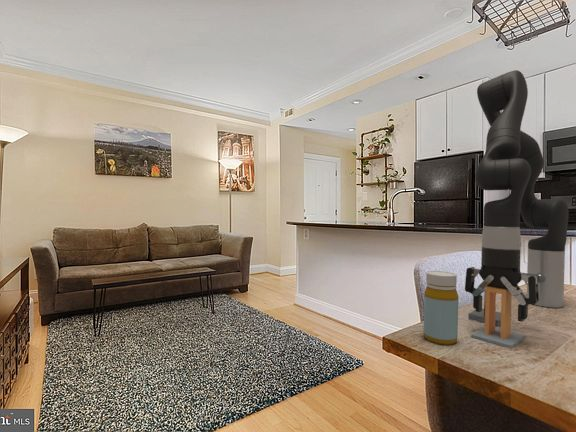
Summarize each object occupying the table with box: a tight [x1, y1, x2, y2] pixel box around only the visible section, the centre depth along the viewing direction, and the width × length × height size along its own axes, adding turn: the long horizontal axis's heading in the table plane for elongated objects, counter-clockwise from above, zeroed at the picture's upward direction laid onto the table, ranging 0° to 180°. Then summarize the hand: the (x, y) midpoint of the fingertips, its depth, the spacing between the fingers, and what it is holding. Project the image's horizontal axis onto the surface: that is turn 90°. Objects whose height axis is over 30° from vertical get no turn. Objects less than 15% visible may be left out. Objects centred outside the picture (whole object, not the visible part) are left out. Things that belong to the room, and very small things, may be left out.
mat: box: [470, 325, 526, 349], centre depth 75 cm, size 10×8×1 cm
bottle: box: [422, 270, 459, 346], centre depth 74 cm, size 7×7×15 cm
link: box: [484, 286, 513, 339], centre depth 75 cm, size 4×4×11 cm
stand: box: [467, 272, 546, 327], centre depth 84 cm, size 8×16×14 cm, turn 40°
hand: (499, 315), depth 75 cm, fingers open, 8 cm apart
